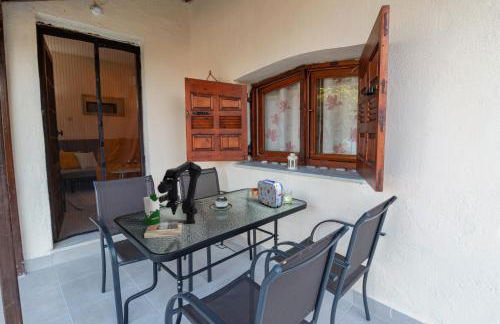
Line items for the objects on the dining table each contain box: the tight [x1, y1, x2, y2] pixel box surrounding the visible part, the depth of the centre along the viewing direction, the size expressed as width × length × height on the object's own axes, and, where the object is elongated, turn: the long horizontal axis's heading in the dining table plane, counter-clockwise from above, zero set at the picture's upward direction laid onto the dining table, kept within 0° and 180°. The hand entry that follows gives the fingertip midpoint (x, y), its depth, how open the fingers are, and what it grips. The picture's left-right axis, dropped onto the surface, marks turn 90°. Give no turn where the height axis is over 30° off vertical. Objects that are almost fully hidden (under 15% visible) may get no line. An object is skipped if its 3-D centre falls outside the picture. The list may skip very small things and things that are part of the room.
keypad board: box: [143, 222, 183, 239], centre depth 152 cm, size 14×20×3 cm
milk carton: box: [143, 193, 161, 226], centre depth 167 cm, size 9×9×20 cm
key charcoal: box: [169, 221, 179, 229], centre depth 153 cm, size 4×4×3 cm
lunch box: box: [257, 179, 284, 208], centre depth 210 cm, size 28×10×22 cm, turn 33°
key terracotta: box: [150, 224, 159, 231], centre depth 151 cm, size 4×4×3 cm
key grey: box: [159, 221, 169, 230], centre depth 152 cm, size 4×4×3 cm
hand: (173, 214), depth 152 cm, fingers closed
